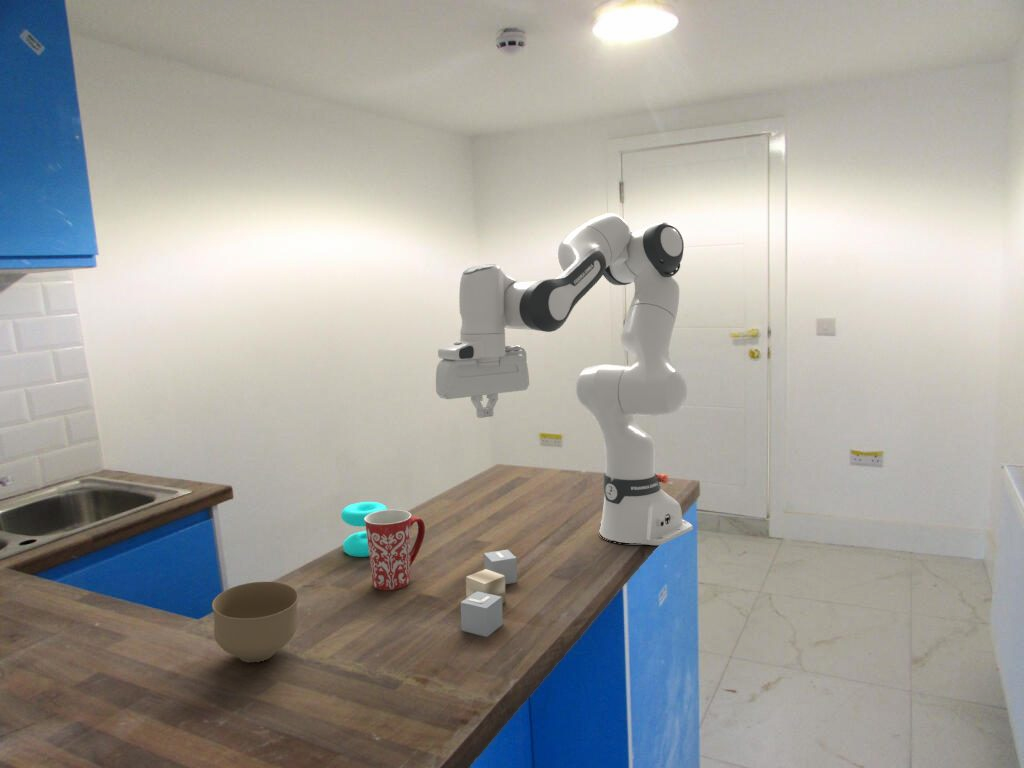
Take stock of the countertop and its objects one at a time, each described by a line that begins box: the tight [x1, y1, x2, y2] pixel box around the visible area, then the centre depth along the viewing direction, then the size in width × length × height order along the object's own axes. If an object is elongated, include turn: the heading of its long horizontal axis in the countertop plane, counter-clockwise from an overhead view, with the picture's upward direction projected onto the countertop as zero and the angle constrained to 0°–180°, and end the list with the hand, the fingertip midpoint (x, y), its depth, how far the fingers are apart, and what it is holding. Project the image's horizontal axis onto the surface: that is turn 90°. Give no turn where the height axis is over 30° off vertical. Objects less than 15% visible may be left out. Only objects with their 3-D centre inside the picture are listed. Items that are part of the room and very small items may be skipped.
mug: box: [364, 509, 426, 591], centre depth 141 cm, size 13×9×14 cm
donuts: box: [340, 501, 388, 558], centre depth 159 cm, size 10×10×10 cm
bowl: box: [211, 581, 300, 663], centre depth 112 cm, size 13×13×10 cm
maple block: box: [465, 569, 506, 604], centre depth 131 cm, size 5×5×5 cm
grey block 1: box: [460, 591, 504, 638], centre depth 121 cm, size 5×5×5 cm
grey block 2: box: [483, 549, 518, 585], centre depth 141 cm, size 5×5×5 cm
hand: (485, 416), depth 144 cm, fingers closed
